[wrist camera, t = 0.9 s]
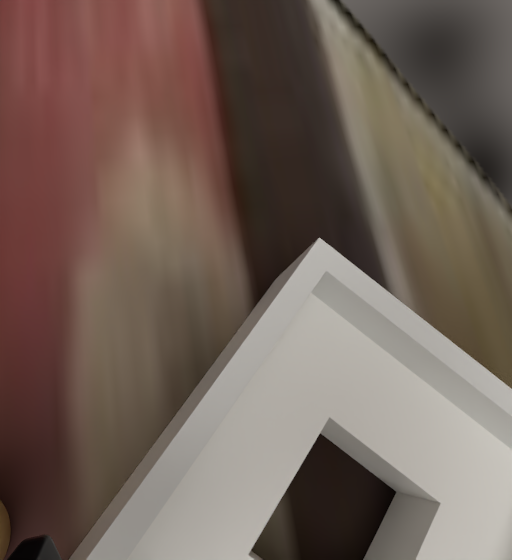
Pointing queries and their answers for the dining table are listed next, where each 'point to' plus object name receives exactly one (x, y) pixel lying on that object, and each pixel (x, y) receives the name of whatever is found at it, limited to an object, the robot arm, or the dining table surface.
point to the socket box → (325, 430)
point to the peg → (4, 531)
